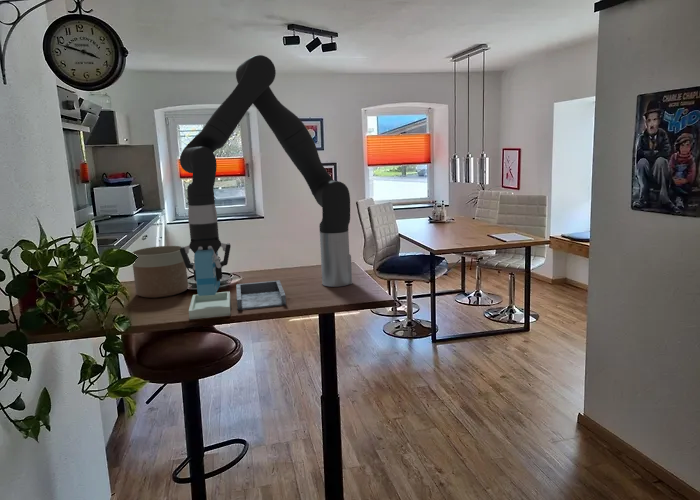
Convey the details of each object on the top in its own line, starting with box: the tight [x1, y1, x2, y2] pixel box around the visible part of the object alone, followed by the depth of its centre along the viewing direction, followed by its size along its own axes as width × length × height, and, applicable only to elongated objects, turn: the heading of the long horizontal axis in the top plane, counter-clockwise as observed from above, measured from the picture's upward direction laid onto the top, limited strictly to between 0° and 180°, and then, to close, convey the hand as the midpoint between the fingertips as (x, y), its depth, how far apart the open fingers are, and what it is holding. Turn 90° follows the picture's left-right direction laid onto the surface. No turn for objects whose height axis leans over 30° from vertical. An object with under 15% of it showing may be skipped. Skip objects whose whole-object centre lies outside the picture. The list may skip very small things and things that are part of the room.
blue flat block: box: [193, 250, 221, 296], centre depth 146 cm, size 12×4×12 cm, turn 6°
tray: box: [188, 290, 231, 320], centre depth 148 cm, size 11×17×2 cm, turn 13°
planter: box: [131, 245, 189, 299], centre depth 167 cm, size 16×16×14 cm
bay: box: [235, 279, 287, 311], centre depth 155 cm, size 13×18×3 cm
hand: (208, 281), depth 146 cm, fingers closed on blue flat block, 4 cm apart
